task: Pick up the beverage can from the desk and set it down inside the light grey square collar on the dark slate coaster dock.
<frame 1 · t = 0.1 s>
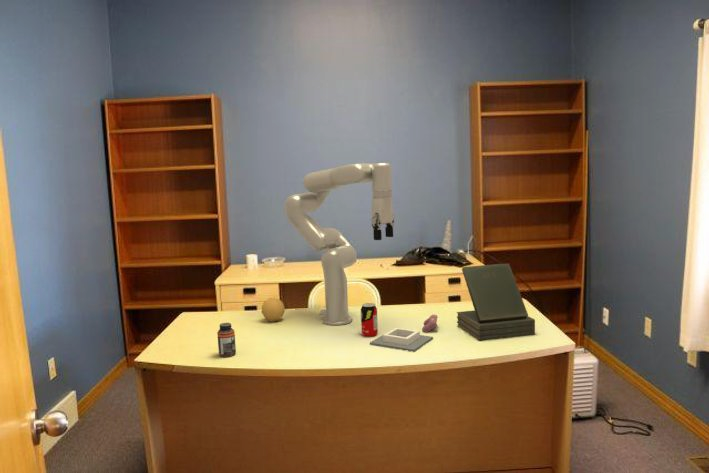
hand: (383, 238, 206), 37 cm above the table, tool pointing down, fingers open, 9 cm apart
dark grey slab stack: (494, 331, 203), on the table
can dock: (401, 341, 193), on the table
stress ball: (274, 321, 228), on the table
supplement bottle: (227, 355, 186), on the table
video game controller: (430, 329, 208), on the table
beverage can: (369, 335, 203), on the table
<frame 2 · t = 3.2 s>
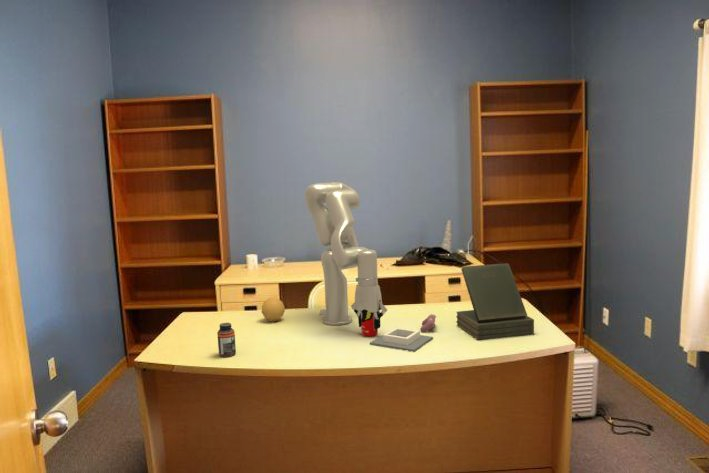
hand: (369, 326, 203), 3 cm above the table, tool pointing down, fingers closed on beverage can, 6 cm apart
beverage can: (369, 335, 203), on the table, touching gripper
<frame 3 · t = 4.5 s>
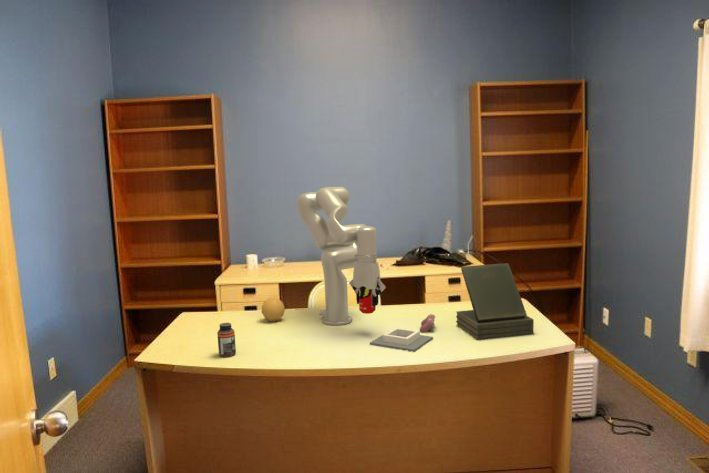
hand: (367, 303, 202), 12 cm above the table, tool pointing down, fingers closed on beverage can, 6 cm apart
beverage can: (367, 312, 203), point 9 cm above the table, touching gripper
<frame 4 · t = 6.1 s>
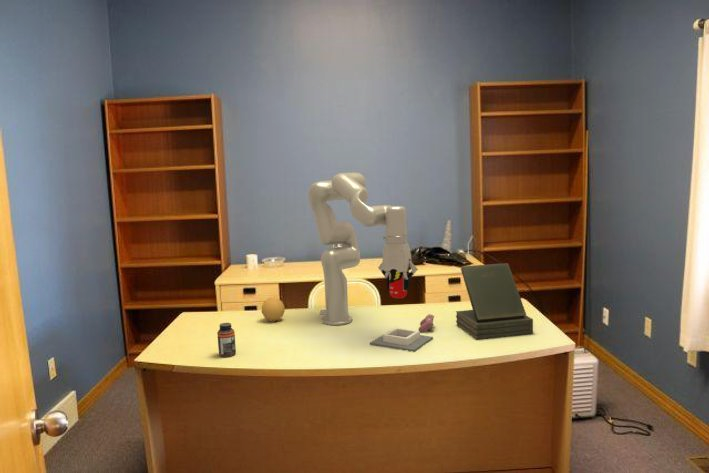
hand: (398, 288, 192), 20 cm above the table, tool pointing down, fingers closed on beverage can, 6 cm apart
beverage can: (398, 297, 192), point 17 cm above the table, touching gripper
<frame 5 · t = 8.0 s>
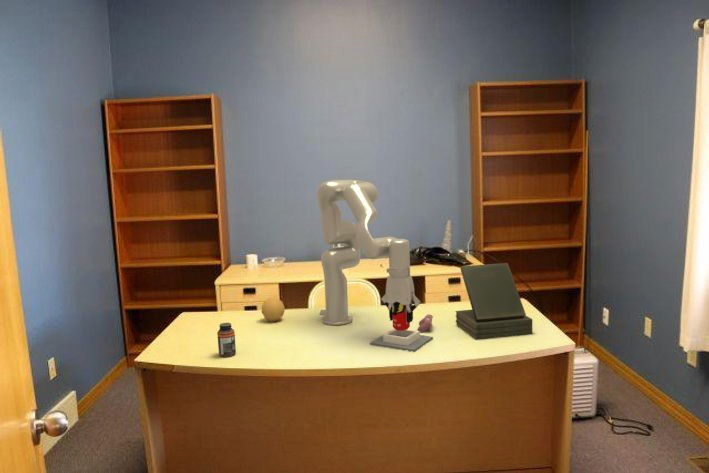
hand: (401, 320, 192), 8 cm above the table, tool pointing down, fingers closed on beverage can, 6 cm apart
beverage can: (401, 329, 193), point 5 cm above the table, touching gripper
when the fingers open (5 cm above the table, at t = 9.3 s): beverage can stays where it is, resting on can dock.
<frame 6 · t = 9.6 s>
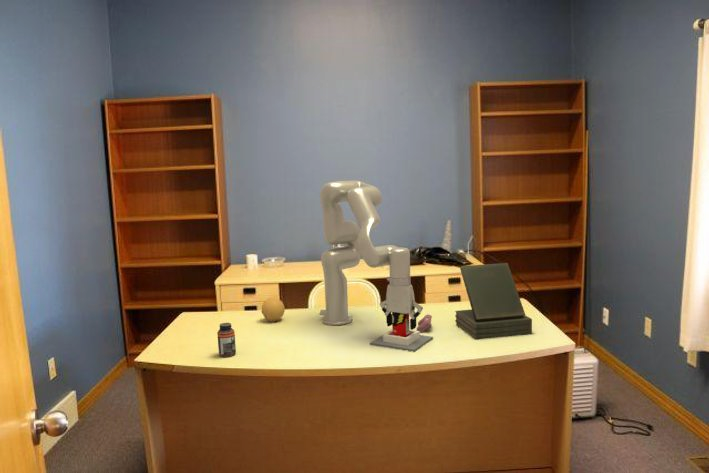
hand: (401, 327, 193), 6 cm above the table, tool pointing down, fingers open, 9 cm apart
beverage can: (401, 340, 193), point 1 cm above the table, touching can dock
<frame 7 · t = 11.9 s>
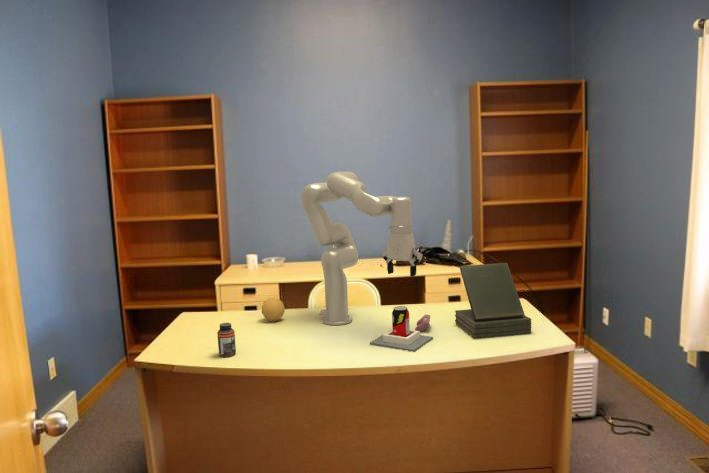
hand: (401, 274, 198), 24 cm above the table, tool pointing down, fingers open, 9 cm apart
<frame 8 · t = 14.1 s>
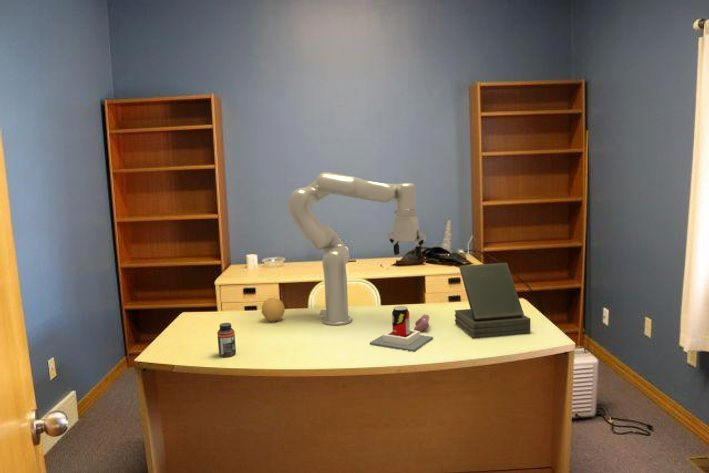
hand: (407, 255, 215), 28 cm above the table, tool pointing down, fingers open, 9 cm apart
at the end: beverage can 0.2 cm off-centre on the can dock, point 0.6 cm above the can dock's base; beverage can tilted 0°; the gripper is holding nothing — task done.
